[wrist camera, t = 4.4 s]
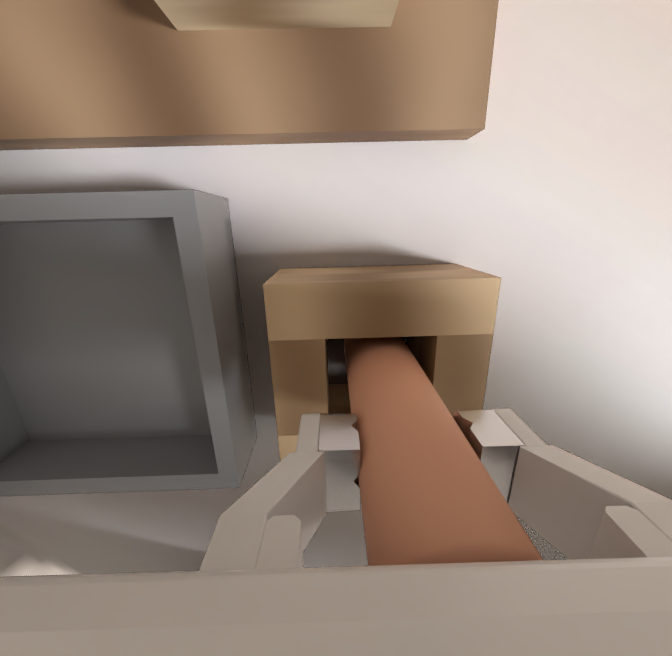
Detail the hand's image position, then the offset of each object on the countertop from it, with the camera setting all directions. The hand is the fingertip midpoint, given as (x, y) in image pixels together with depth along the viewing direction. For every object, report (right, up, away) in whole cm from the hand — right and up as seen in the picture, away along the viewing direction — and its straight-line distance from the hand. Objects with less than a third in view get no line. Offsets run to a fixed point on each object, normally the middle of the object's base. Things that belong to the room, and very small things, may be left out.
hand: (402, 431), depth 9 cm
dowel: (0, +2, +6) cm, 7 cm away
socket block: (0, +2, +7) cm, 7 cm away
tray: (-12, +3, +6) cm, 14 cm away
